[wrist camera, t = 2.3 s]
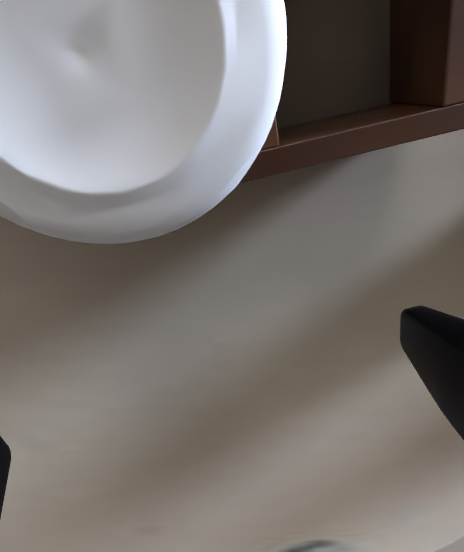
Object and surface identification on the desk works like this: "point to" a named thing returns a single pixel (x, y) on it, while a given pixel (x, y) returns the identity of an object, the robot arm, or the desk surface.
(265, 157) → the rack
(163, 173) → the sprinkles bottle
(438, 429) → the desk surface
